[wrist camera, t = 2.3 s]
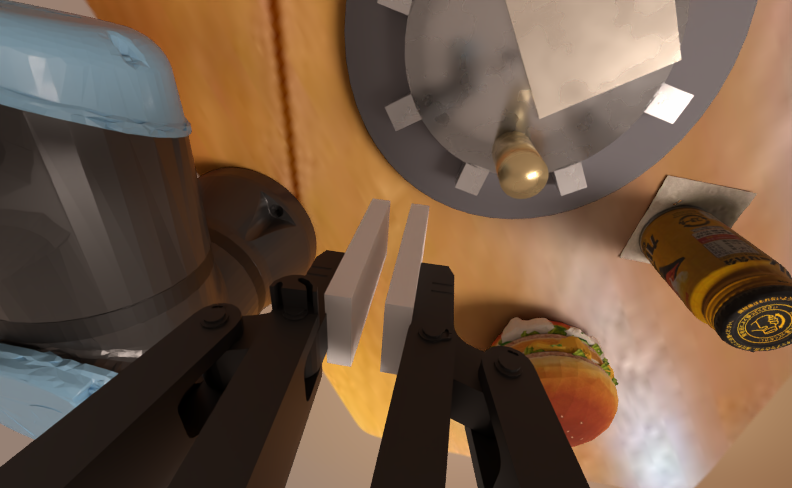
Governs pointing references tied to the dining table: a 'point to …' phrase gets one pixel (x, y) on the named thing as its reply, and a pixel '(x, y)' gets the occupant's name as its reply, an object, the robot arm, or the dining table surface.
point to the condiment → (715, 263)
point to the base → (604, 172)
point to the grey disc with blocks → (536, 82)
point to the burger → (568, 374)
